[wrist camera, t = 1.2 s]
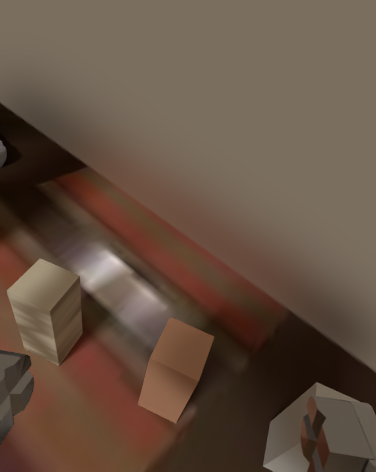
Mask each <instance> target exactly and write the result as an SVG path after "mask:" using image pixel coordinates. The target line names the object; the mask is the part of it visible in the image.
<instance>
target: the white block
mask: <svg viewBox="0 0 376 472" xmlns="http://www.w3.org/2000/svg"><path fill="white" fill-rule="evenodd" d="M310 396H317V397H325V398H332V399H340V400H347V401H354V402H359V401H357V400H355V399H353V398H351V397H348V396H346V395H344V394H342V393H339V392H337V391H335V390H333V389H331V388H328V387H326V386H324V385H322V384H320V383H317V382H316V383H315V384H314V385H313V386H312V387H311V388H309V389H308V390H307V391H306V392H305V393H304V394H302V395H301V396H300V397H299V398H298V399H297V400H295V401H294V402H293V403H292V404H291V405H290V406H288V407H287V408H286V409H285V410H284V411H283V412H281V413H280V414H279V415H278V416H277V417H275V418H274V419H273V420H272V421H271V422H270V427H269V433H268V439H267V445H266V451H265V457H264V463H263V466H264V467H266V468H268V469H270V470H272V471H274V472H307V470H308V467H309V464H310V463H309V462H308V460H307V459H306V458H305V457H304V456H303V452H302V447H301V437H300V435H301V424H302V420H303V417H304V416H305V415H307V414H308V410H307V406H306V405H307V402H308V399H309V398H310ZM361 403H362V402H361Z"/></svg>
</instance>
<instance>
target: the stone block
mask: <svg viewBox="0 0 376 472" xmlns="http://www.w3.org/2000/svg"><path fill="white" fill-rule="evenodd" d="M6 156H7V151H6V148H5V147H4V146H3V143H2V141H0V168H1V167H2V166H3V164H4V162H5V160H6Z"/></svg>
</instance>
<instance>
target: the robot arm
mask: <svg viewBox="0 0 376 472" xmlns="http://www.w3.org/2000/svg"><path fill="white" fill-rule="evenodd" d="M30 366H31V360H30V356H28V355H26V354H20V353H14V352H8V351H3V350H0V444H1V443H2V441H3V440H4V438H5V437H6V435H7V434H8V432H9V431H10V429H11V428H12V426H13V425H14V416H15V415H17V414H18V413H20V412H21V411H23V410H24V409H25V407H26V405H27V404H28V402H29V400H30V398H31V395H32V392H33V388H34V379H33V375H32V374H31V373H30V372H29V371H28V369H29V367H30ZM306 406H307V410H308V414H307V415H305V416H304V417H303V420H302V424H301V435H300V437H301V447H302V452H303V456H304V457H305V458H306V459H307V460H308V462H309V463H310V464H309V467H308V470H307V472H376V415H375V413H374V411H373V409H372V407H371V406H370V405H369V404H368V403H361V402H354V401H347V400H340V399H332V398H325V397H317V396H310V398H309V399H308V402H307V405H306Z"/></svg>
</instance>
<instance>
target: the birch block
mask: <svg viewBox="0 0 376 472" xmlns="http://www.w3.org/2000/svg"><path fill="white" fill-rule="evenodd" d="M7 293H8V297H9V300H10V303H11V306H12V309H13V313H14V316H15V319H16V322H17V325H18V329H19V332H20V335H21V338H22V341H23V344H24V348H25V349H26V350H28V351H30V352H32V353H34V354H36V355H38V356H40V357H42V358H44V359H46V360H48V361H50V362H52V363H54V364H56V365H58V366H60V364H61V363H62V361H63V360H64V359H65V357H66V356H67V354H68V353H69V352H70V350H71V349H72V347H73V346H74V345H75V343H76V342H77V340H78V339H79V338H80V336H81V335H82V333H83V332H82V312H81V293H80V276H78V275H76V274H74V273H72V272H69V271H67V270H65V269H63V268H60V267H58V266H56V265H54V264H52V263H49V262H47V261H45V260H43V259H41V258H40V259H39V260H38V261H37V262H36V263H35V264H34V265H33V266H32V267H31V268H30V269H29V270H28V271H27V272H26V273H25V274H24V275H23V276H22V277H21V278H20V279H19V280H17V281H16V282H15V283H14V284H13V285H12V286H11V287H10V288H9V289H8V290H7Z"/></svg>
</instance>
